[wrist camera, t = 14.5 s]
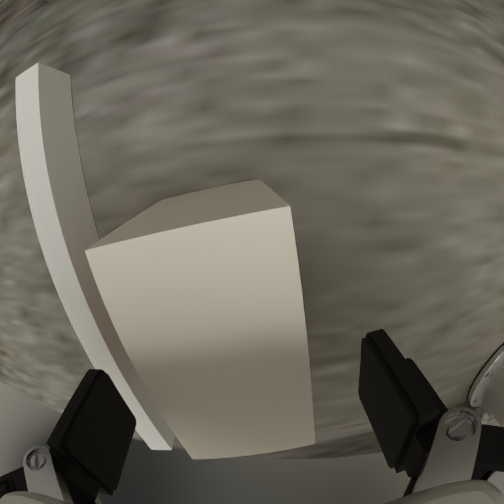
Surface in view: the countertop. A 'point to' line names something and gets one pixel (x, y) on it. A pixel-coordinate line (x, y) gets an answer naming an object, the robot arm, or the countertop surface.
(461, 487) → the robot arm
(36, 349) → the countertop surface
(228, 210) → the box
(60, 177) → the rail
